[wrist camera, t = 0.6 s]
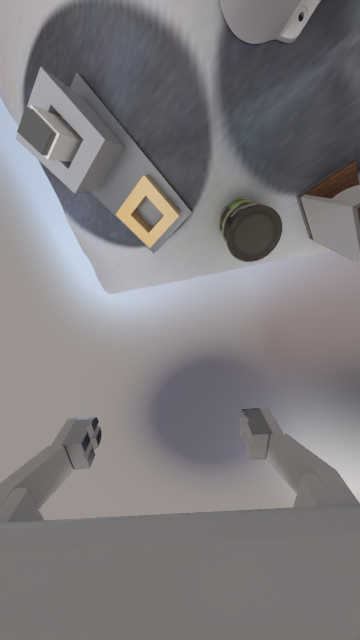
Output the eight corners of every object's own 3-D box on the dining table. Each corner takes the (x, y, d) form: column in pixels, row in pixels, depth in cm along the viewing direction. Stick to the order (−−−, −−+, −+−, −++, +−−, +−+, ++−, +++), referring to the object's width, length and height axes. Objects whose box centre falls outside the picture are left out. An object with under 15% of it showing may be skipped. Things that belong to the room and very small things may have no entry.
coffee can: (215, 205, 46) (223, 215, 35) (259, 191, 44) (283, 196, 33) (221, 247, 52) (230, 267, 41) (261, 236, 50) (281, 254, 39)
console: (81, 76, 35) (30, 30, 24) (192, 211, 47) (192, 222, 36) (50, 148, 41) (-2, 138, 30) (154, 250, 53) (145, 270, 42)
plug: (67, 120, 31) (24, 101, 23) (88, 143, 33) (54, 132, 25) (57, 142, 33) (14, 131, 25) (77, 162, 34) (43, 159, 26)
